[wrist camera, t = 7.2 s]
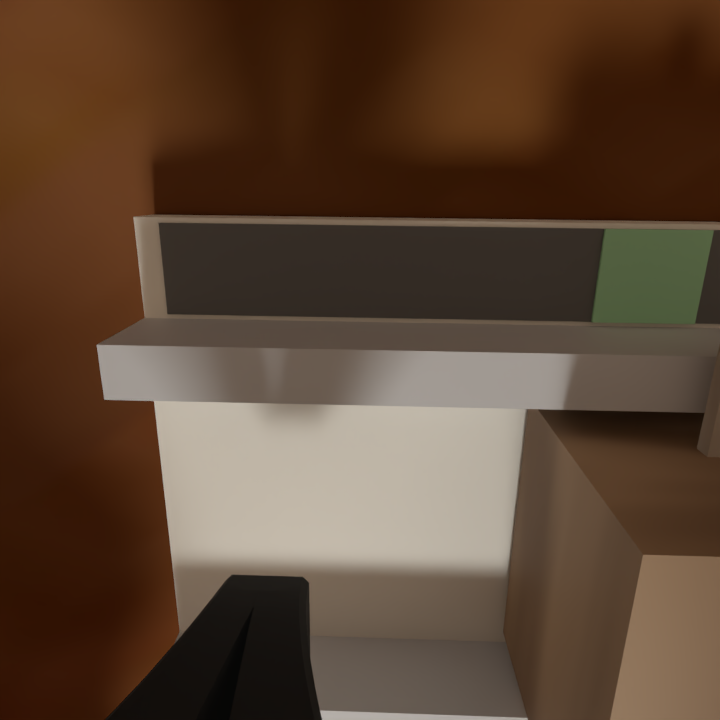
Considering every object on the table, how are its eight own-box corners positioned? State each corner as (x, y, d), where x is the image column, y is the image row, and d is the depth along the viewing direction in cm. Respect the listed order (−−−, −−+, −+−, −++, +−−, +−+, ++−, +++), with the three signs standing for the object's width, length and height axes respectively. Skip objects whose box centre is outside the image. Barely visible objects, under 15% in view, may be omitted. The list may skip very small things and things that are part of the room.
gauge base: (201, 688, 15) (97, 984, 10) (153, 214, 11) (-69, 241, 6) (850, 711, 15) (1145, 1037, 9) (1033, 225, 11) (1744, 267, 5)
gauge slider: (502, 632, 13) (575, 889, 8) (548, 234, 10) (699, 274, 5) (715, 639, 13) (915, 904, 8) (820, 237, 10) (1222, 282, 5)
